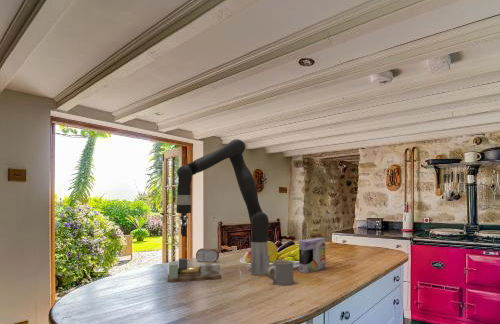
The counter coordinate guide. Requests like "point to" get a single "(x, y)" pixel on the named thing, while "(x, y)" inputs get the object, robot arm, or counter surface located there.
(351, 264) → the counter surface
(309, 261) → the cake pan box
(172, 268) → the socket block
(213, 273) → the stand
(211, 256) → the tin
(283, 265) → the coffee mug
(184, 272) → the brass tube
